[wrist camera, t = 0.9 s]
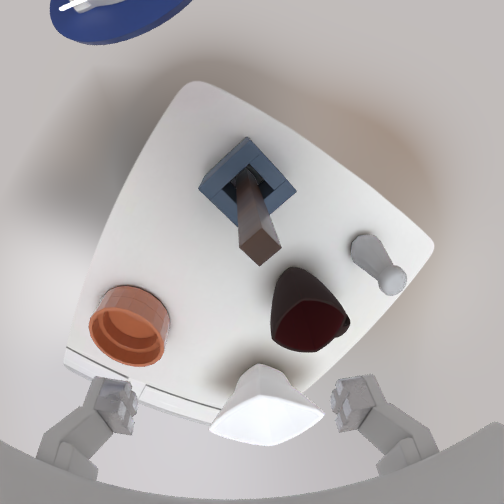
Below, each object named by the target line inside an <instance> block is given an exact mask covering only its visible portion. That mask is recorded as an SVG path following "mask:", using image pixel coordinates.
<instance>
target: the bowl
mask: <svg viewBox="0 0 504 504" xmlns="http://www.w3.org/2000/svg"><path fill="white" fill-rule="evenodd" d="M324 415H325V413H324V411H322V410H321V409H320V408H319V407H318V406H316V405H315V404H314V403H313V402H312V401H311V400H309V399H308V398H307V397H306V396H305V395H304V394H303V393H301V392H300V391H298V390H297V389H295V388H293V387H292V385H291V384H290V382H289V381H288V379H287V378H286V376H285V374H284V373H282V372H281V371H279V370H277V369H274V368H272V367H270V366H267V365H264V364H259V363H258V364H256V365H254V366H252V367H251V368H250V369H248V370H247V371H246V372H245V373H244V374H243V375H242V376H241V377H240V379H239V380H238V382H237V385H236V388H235V391H234V394H233V395H232V396H231V397H230V398H229V399H228V401H227V402H226V403H225V405H224V406H223V408H222V409H221V411H220V412H219V414H218V415H217V417H216V418H215V419H214V421H213V422H212V424H211V425H210V427H209V429H208V430H209V431H210V432H213V433H215V434H217V435H219V436H222V437H225V438H228V439H232V440H236V441H241V442H245V443H250V444H254V445H262V446H274V445H277V444H279V443H282V442H285V441H287V440H289V439H291V438H293V437H295V436H297V435H299V434H301V433H302V432H304V431H306V430H307V429H309V428H310V427H311V426H313V425H314V424H316V423H317V422H318V421H319V420H320V419H321V418H322V417H324Z"/></svg>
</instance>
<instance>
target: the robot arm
mask: <svg viewBox="0 0 504 504" xmlns="http://www.w3.org/2000/svg"><path fill="white" fill-rule="evenodd" d="M69 1H70V3H69V4H67V5H65V6H62V7H60V8H59V10H61V11H63V10H65V9H68V8H70V7H72V6H73V7H74V9H75V10H76V11H77V12H78V13H84V12H86V11H88V10H90V9H92V8H95V7H98V6H105V5H112V4H116V3H119V2H122V1H125V0H69ZM79 3H80V4H79ZM335 386H336V389H334V390H333V391H332V394H331V407H332V411H333V412H334V413H336V414H337V417H336V419H335V421H336V424H337V427H338V431H339V432H345V431H351V430H356V429H358V431H359V432H360V433H361V434H362V435H363V436H364V437H366V438H367V439H368V440H369V441H370V442H371V443H372V444H373V445H374V446H375V447H376V448H378V449H379V450H380V451H381V452H382V453H383V454H384V455H385V456H384V457H383V458H382V459H381V460H380V461H379V462H378V463H377V464H376V466H377V470H378V473H379V477H375V478H372V479H368V480H365V481H362V482H358V483H354V484H350V485H346V486H342V487H338V488H333V489H328V490H323V491H318V492H313V493H306V494H300V495H293V496H284V497H274V498H262V499H239V500H220V499H196V498H184V497H175V496H166V495H159V494H152V493H146V492H141V491H136V490H131V489H126V488H122V487H118V486H114V485H109V484H106V483H102V482H99V481H96V479H97V473H98V468H97V467H96V466H95V465H94V464H93V463H92V462H91V461H89V459H90V458H91V457H92V456H93V455H94V454H95V452H96V451H97V450H98V449H99V448H100V447H101V446H102V445H103V444H104V443H105V442H106V441H107V440H108V439H109V438H110V437H111V435H112V434H113V432H114V433H120V434H126V435H132V432H133V427H134V423H135V422H134V420H133V418H132V417H133V416H134V415H135V414H136V413H137V409H138V400H137V396H136V394H135V392H133V391H132V390H131V389H132V385H131V383H130V382H128V381H121V380H114V379H108V378H103V377H97V376H95V377H94V379H93V380H92V383H91V385H90V388H89V391H88V393H87V396H86V398H85V401H84V404H83V407H80V406H79V407H78V408H77V409H76V410H74V411H73V412H72V413H70V414H69V415H68V416H66V417H65V418H64V419H62V420H61V421H60V422H59V423H57V424H56V425H55V426H53V427H52V428H51V429H49V430H48V431H47V432H46V433H44V435H43V438H42V441H41V444H40V446H39V449H38V452H37V456H36V458H34V457H32V456H30V455H28V454H26V453H24V452H22V451H20V450H18V449H16V448H14V447H12V446H10V445H8V444H7V443H5V442H3V441H1V440H0V504H504V425H503V424H500V423H498V422H493V423H490V424H489V425H487V426H485V427H484V428H482V429H481V430H479V431H478V432H476V433H474V434H472V435H471V436H469V437H467V438H466V439H464V440H462V441H460V442H458V443H456V444H455V445H453V446H451V447H449V448H447V449H445V450H443V451H441V452H439V450H438V447H437V445H436V443H435V441H434V439H433V437H432V434H431V432H430V430H429V429H428V428H427V427H425V426H424V425H422V424H421V423H419V422H418V421H416V420H415V419H413V418H412V417H410V416H409V415H407V414H406V413H404V412H403V411H401V410H400V409H398V408H397V407H396V406H394V405H393V404H391V403H387V402H386V400H385V397H384V395H383V393H382V391H381V389H380V387H379V384H378V383H377V380H376V378H375V376H374V375H373V374H367V375H363V376H355V377H349V378H343V379H338V380H337V382H336V384H335Z"/></svg>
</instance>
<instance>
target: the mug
mask: <svg viewBox="0 0 504 504" xmlns="http://www.w3.org/2000/svg"><path fill="white" fill-rule="evenodd" d="M270 325H271V336H272V339H273V340H274V341H275V342H276V343H277V344H279V345H280V346H282V347H284V348H287V349H289V350H292V351H297V352H317V351H319V350H320V349H322V348H323V347H325V346H326V345H327V344H329V343H330V342H331V341H332V340H333V339H334V338H336V337H339V336H341V335H343V334H344V333H345V332H346V331H347V329H348V328H349V326H350V319H349V317H348V315H347V314H346V312H345V311H344V309H343V307H342V306H341V304H340V303H339V301H338V300H337V299H336V298H335V296H334V295H333V294H332V293H331V292H330V291H329V290H328V289H327V288H326V287H325V286H324V285H323V284H322V283H321V282H320V281H319V280H318V279H317V278H316V277H314V276H313V275H312V274H310V273H309V272H307V271H306V270H303V269H300V268H296V267H290V268H288V269H287V270H286V271H284V273H283V274H282V275H281V276H280V278H279V279H278V281H277V284H276V287H275V291H274V295H273V301H272V309H271V321H270Z"/></svg>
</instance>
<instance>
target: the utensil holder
mask: <svg viewBox="0 0 504 504" xmlns="http://www.w3.org/2000/svg"><path fill="white" fill-rule="evenodd" d="M248 164H250V165H251V166H252V167H253V168H254V169H255V170H256V171H257V172H258V173H259V174H260V176H261V177H262V178H263V179H264V180H263V181H262V182H261V183H260V184H259V185H258V186H259V189H260V191H261V194H262V197H263V199H264V202H265V205H266V207H267V210H268V212H269V215H270V214H271V213H272V212H274V211H275V210H276V209H277V208H278V207H279V206H281V205H282V204H283V203H284V202H285V201H286V200H287V199H289V198H290V197H291V196H292V195H293V194H295V193H296V192H297V191H296V189H295V188H294V187H293V186H292V185H291V184H290V183H289V181H288V180H287V179H286V178H285V177H284V176H283V175H282V174H281V172H280V171H279V170H278V169H277V168H276V167H275V166H274V165H273V164H272V163H271V161H270V160H269V159H268V158H267V157H266V156H265V155H264V154H263V153H262V152H261V151H260V150H259V148H258V147H257V146H256V145H255V144H254V143H253V142H252V141H251V140H250V139H249V138H248V137H246V138H245V139H244V140H243V141H242V142H240V143H239V144H238V145H237V146H236V147H235V148H234V149H233V150H232V151H231V152H229V153H228V154H227V155H226V156H225V157H224V158H223V159H222V160H221V161H220V162H219V163H218V164H217V165H216V166H214V167H213V168H212V169H211V170H210V171H209V172H208V173H207V174H206V175H205V176H204V178H203V180H202V182H201V184H200V186H199V188H198V189H199V190H200V191H201V192H202V193H203V194H204V195H205V196H206V197H207V198H208V199H209V200H210V201H211V202H212V203H213V204H214V205H215V206H216V207H217V208H218V209H220V210H221V211H222V212H223V213H224V214H225V215H226V216H227V217H228V218H229V219H230V220H231V221H232V222H233V223H234V224H235V225H236V226H237V227H238V214H237V194H236V188H235V187H234V186H233V185H232V184H231V183H230V181H231V180H232V179H233V178H234V177H235V176H236V175H237V174H238V173H239V172H241V171H242V170H243V169H244V168H245V167H246V166H247V165H248Z"/></svg>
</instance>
